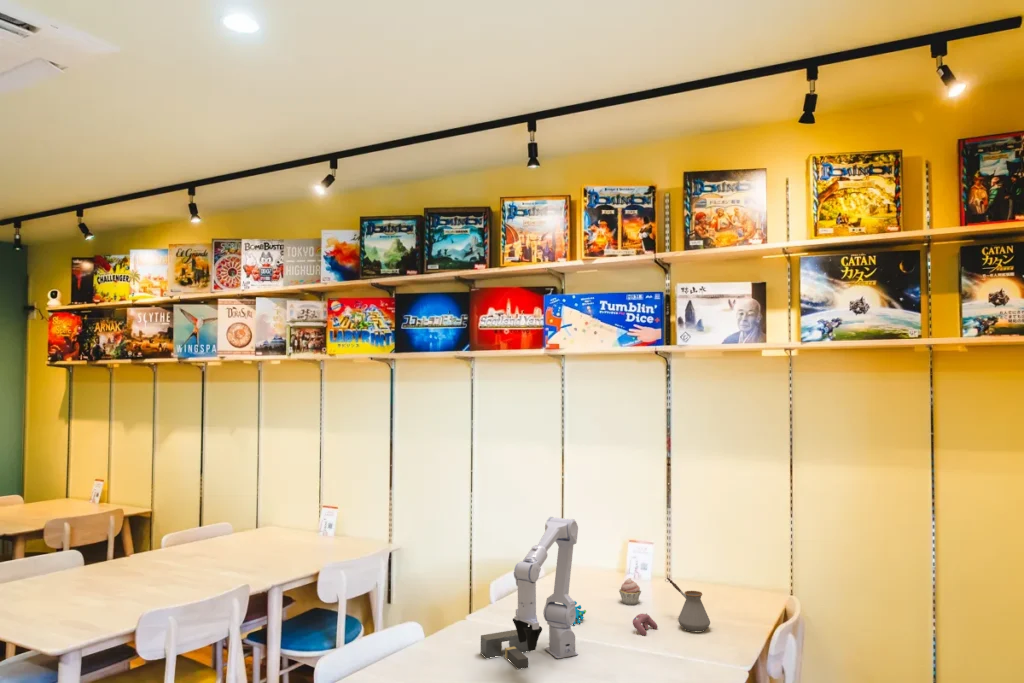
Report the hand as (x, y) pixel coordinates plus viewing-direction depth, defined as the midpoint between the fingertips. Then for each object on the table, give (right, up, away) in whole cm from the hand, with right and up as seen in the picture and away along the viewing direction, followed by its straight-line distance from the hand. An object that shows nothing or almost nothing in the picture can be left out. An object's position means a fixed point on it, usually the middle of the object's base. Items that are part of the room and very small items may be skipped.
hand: (527, 645), depth 213 cm
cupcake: (+44, -13, +69) cm, 83 cm away
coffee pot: (+60, -11, +43) cm, 75 cm away
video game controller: (+44, -11, +36) cm, 58 cm away
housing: (-7, -10, +17) cm, 21 cm away
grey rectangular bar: (-3, -9, +9) cm, 13 cm away
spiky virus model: (+18, -12, +46) cm, 51 cm away
